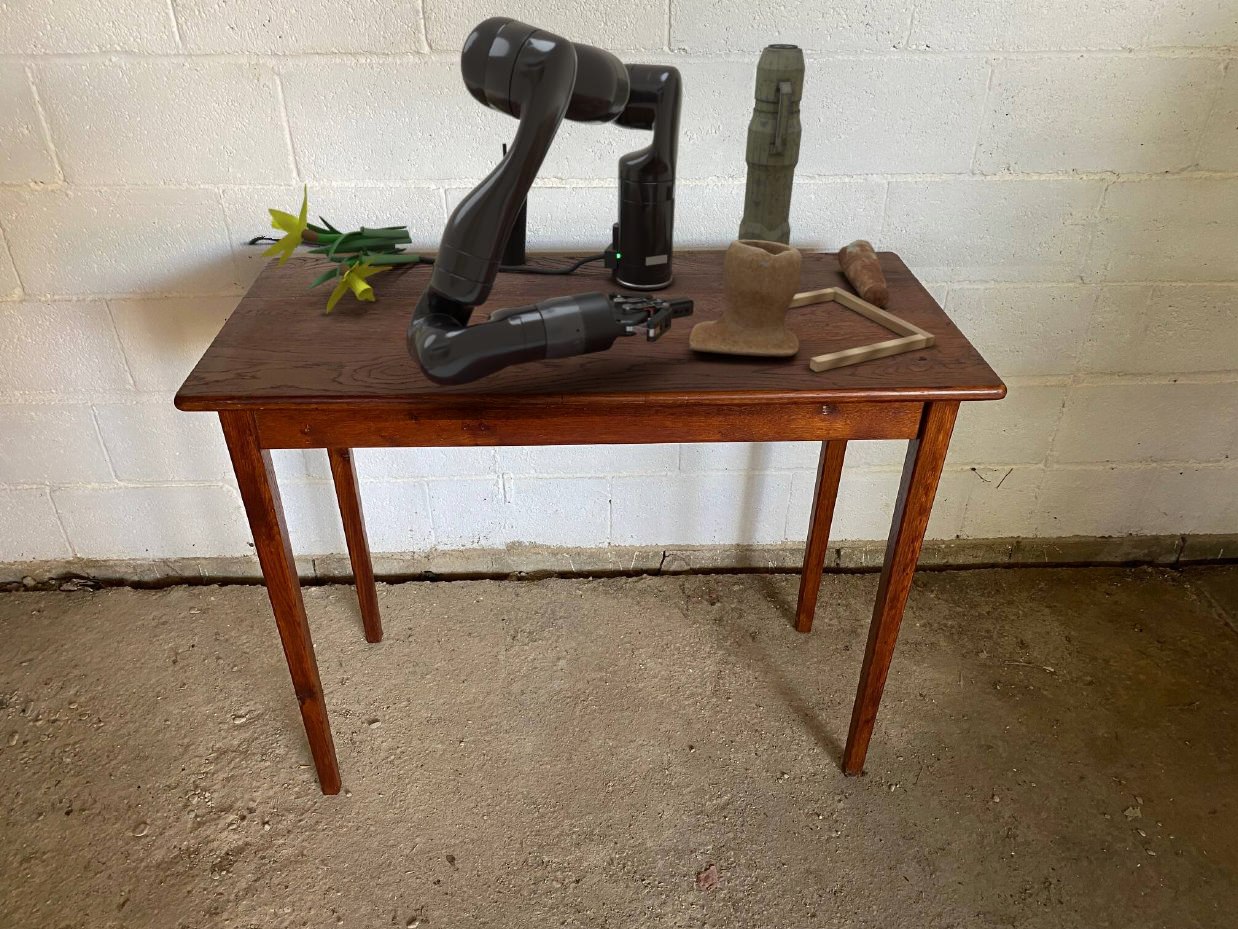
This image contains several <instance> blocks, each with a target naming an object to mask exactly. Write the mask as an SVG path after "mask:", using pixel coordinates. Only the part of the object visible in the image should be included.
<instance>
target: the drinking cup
mask: <svg viewBox="0 0 1238 929" xmlns="http://www.w3.org/2000/svg"><path fill="white" fill-rule="evenodd" d="M501 145H502V146H501V147H502V159H503V158H504V156H505V155H506V153H507V152H508V150H507V149H508V148H507V147H508V146H507V143H506V142H505V143H501ZM528 194H529V193H528ZM528 194H527V196H526V198H525V200H524V202H523V205H522V207H521V209H520V211H519V213H518V215H517V218H516V220H515V222H514V225H513V227H512V230H511V232H510V235H509V238H508V241H507V244H506V247H505V250H504V253H503V256H502V260H501V263H500V265H501V266H519V265H520V266H521V265H522V264H524V263H525V262H526V245H527V244H526V242H527V221H528V220H527V217H528Z"/></svg>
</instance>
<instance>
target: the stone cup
mask: <svg viewBox="0 0 1238 929" xmlns="http://www.w3.org/2000/svg"><path fill="white" fill-rule="evenodd" d="M722 262H723V263H722V282H723V293H724V295H723V296H724V312H723V313H722V315H721V317H720V318H718V319H716V320H711V321H710V320H709V321H708V320H707V321H702V322H699V323H697V324H695V325H694V327H693V328H692V329H691V330H692V331H691V332H690V335H689V339H688V350H689V351H693V352H701V353H710V354H711V353H713V354H724V355H734V356H752V357H791V356H794V355H796V354H797V352H798V351H799V348H800V342H799V339H798V337H797V336H796V335H795V334H794V333H793V332H792V331H790V330H789V329H787V328H786V327H785V320H786V316H787V313H788V310H789V309H790V308H789V306H790V304H791V302H792V300H793V298H794V296H795V294H797V290H798V288H799V285H800V280H801V274H802V270H803V269H802V268H803V257H802V254H801V252H800V251H799V250H798V249H797V248H796V247H793V246H791V245H790V244H789V245H785V244H781V243H777V242H770V241H760V240H738V239H735V240H733V241H731V242H730V244H729V246H728V248H727V250H726V252H725V255H724V259H723V261H722Z"/></svg>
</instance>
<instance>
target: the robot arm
mask: <svg viewBox="0 0 1238 929" xmlns="http://www.w3.org/2000/svg"><path fill="white" fill-rule="evenodd" d="M460 74H461V78H462V81H463V84H464V86H465V88H466V90H467V92H468V94H469V95H470V96H471V98H473V99H474V100H475V101H476V102H478V104H480V105H481V106H483V107H484V108H486V109H489V110H492V111H494V112H497V113H499V114H502V115H504V116H507V117H509V118H512V119H515V120H517V121H519V123H518V126H517V130H516V133H515V135H514V138H513V140H512V142H511V144H510V146H509V148H508V150H507V153H506V155H505V156H504V158H503V157H502V159H501V160H500V162H498V163H497V165H495V167H494V168H493V169H492V170H491V172H489V174H488V175H487V176H486V177H484V179H483V180H482V181H480V182H479V183H478V184H477V185H476V186H475V187H474V188H472V189H471V190H470V192H468V194H466V195H465V196H464V197H463V198H462V199H461V200H460V201H459V203H458V204H457V205H456V207H454V209H453V211H452V212H451V214H450V215H449V217H448V220H447V222H446V223H445V226H444V229H443V232H442V236H441V238H440V242H439V246H438V248H437V249H438V250H437V253H436V255H435V258H434V257H427V256H420V255H419V260H420V261H421V262H423V263H430V264H433V266H432V271H431V276H430V278H429V280H428V282H427V284H426V286H425V287H424V289H423V291H422V293H421V295H420V296H419V299H418V301H417V303H416V305H415V307H414V310H413V311H412V313H411V317H410V319H409V322H408V326H407V330H406V337H405V340H406V341H405V345H406V350H407V352H408V353H407V354H409V355H408V356H409V357H410V358H411V360H412V361H413V363H414V364H415V365H416V367H417V368H418V369H419V371H420V372H421V374H422V375H423V376H424V377H425V378H426V379H427V380H428V381H430V382H432V383H433V384H435V385H439V386H445V387H455V386H461V385H462V386H463V385H467V384H470V383H473V382H476V381H479V380H481V379H484V378H486V377H489V376H491V375H494V374H496V373H498V372H501V371H502V370H505V369H507V368H508V367H512V366H519V365H525V364H531V363H537V362H542V361H551V360H553V361H554V360H563V359H567V358H568V359H569V358H574V357H578V356H579V357H580V356H584V355H589V354H594V353H595V354H596V353H599V352H606V351H609V350H610V349H612V347H613V345H614V343H615V341H616V340H617V339H619V337H620V338H632V337H634V336H636V335H638V334H639V335H640V334H641V335H645V336H646V341H647V342H648V343H655V342H656V341H658V340H659V339H660V338H661V337H662V336H664V334H666V333H667V332H668V331H669V330H670V329H671V328H672V320H674V319H679V318H686V317H690V316H692V315H693V314H694V308H695V302H694V300H693V299H692V298H690V297H688V296H681V297H680V296H679V297H674V298H668V299H664V298H662V297H655V298H654V296H653V294H649V293H648V294H647V293H637V292H625V291H615V290H613V291H609V292H608V297H607V296H606V294H604V293H603V292H601V291H597V290H596V291H589V292H582V293H576V294H570V295H565V296H557V297H552V298H547V299H544V300H541V301H536V302H533V303H527V304H522V305H515V306H509V307H504V308H499V309H495V310H494V311H492V312H490V313H489V314H488V316H487V318H486V320H485V321H482V322H479V323H475V324H470V325H468V324H469V322H470V319H471V317H472V315H473V313H474V311H475V308H477V307H481V306H483V305H484V304H486V303H487V302H488V299H489V298H490V295H491V293H492V290H493V289H494V285H495V282H496V278H497V276H498V272H499V271H505V272H521V273H532V274H540V275H553V276H554V275H555V276H556V275H557V276H560V275H567V274H571V273H573V272H575V271H577V270H578V269H579V268H580V267H581V266H582V265H585V264H587V263H590V262H594V261H599V260H603V267H604V268H603V269H611V273H612V274H611V280H612V281H613V282H616V283H617V284H618V285H620V286H621V287H624V288H627V289H631V290H635V291H654V290H655V291H656V290H660V289H664V288H666V287H669V286H670V285H671V284H672V283H673V258H674V257H673V256H674V238H675V237H674V236H675V234H674V233H675V213H676V190H677V189H676V187H677V166H678V157H679V148H680V147H679V146H680V132H681V131H680V129H681V122H682V120H681V119H682V111H683V110H682V109H683V98H684V84H683V77H682V74H681V72H680V70H679V69H678V67H676V66H673V65H667V64H652V63H651V64H650V63H623V62H622V60H621V59H620V58H619V57H618V56H616V55H615V54H614V53H613V52H611V51H609V50H606V49H604V48H600V47H597V46H595V45H591V44H586V43H582V42H577V41H576V42H575V41H570V40H569V39H568V38H566V37H564V36H561V35H559V34H557V33H553V32H551V31H549V30H546V29H542V28H540V27H537V26H534V25H531V24H528V23H526V22H523V21H520V20H518V19H516V18H512V17H509V16H502V15H499V16H491V17H489V18H486V19H484V20H482V21H481V22H479V23H478V24H477V25H476V26H475V27H473V29H472V30H471V32H470V33H469V34H468V35H467V37H466V40H465V41H464V43H463V46H462V49H461V53H460ZM563 120H565V121H568V122H571V123H576V124H580V125H588V126H603V125H606V124H611V125H613V126H615V127H618V128H621V129H624V130H630V131H640V132H641V131H644V132H653V135H652V139H651V140H652V141H651V143H650V144H648V145H647V146H645V147H642V148H640V149H638V150H637V149H636V150H634V151H633V150H632V151H630V152H627V153H625V154H623V155H621V156H620V157H619V159H618V161H617V222H614V223H613V224H612V227H611V228H612V229H611V232H612V233H611V235H612V236H611V242H610V243H609V245H608V246H607V247H606V248H605V249H604V250H603V253H601V254H595V255H591V256H587V257H585V258H581V259H580V260H578V261H577V262H576V263H574V264H573V265H571V267H568V268H564V269H542V268H537V267H529V266H518V265H514V266H506V265H501V264H500V263H501V260H502V256H503V253H504V250H505V247H506V244H507V241H508V238H509V235H510V232H511V230H512V227H513V225H514V222H515V220H516V218H517V215H518V213H519V211H520V209H521V207H522V205H523V202H524V200H525V198H526V196H527V197H528V195H527V194H529V193H530V190H531V188H532V186H533V184H534V182H535V180H536V178H537V177H538V174H539V172H540V170H541V169H542V168H541V167H542V165H543V164H544V162H545V159H546V157H547V155H548V154H549V153H548V152H549V150H550V148H551V147H552V144H553V142H554V140H555V138H556V135H557V134H558V131H559V129H560V127H561V125H562V122H563ZM261 236H262V235H261ZM256 237H257V236H256ZM264 237H265V236H264ZM264 237H263V236H262V237H257V238H255V237H253V238H254V239H253V238H251V240H250V241H249V242H248V246H254V245H255V244H256V243H257V242H259V241H271V242H276V243H277V242H278V241H279V240H281V239H272V238H264ZM332 244H333V243H317V242H316V243H315V242H309V241H305V240H303V241H302V242H301V243H300V244H299V245H308V246H318V247H325V246H328V245H332ZM370 252H375V251H370ZM401 254H403V252H399V253H391V255H401ZM406 254H407V255H409V254H408V253H406Z"/></svg>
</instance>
